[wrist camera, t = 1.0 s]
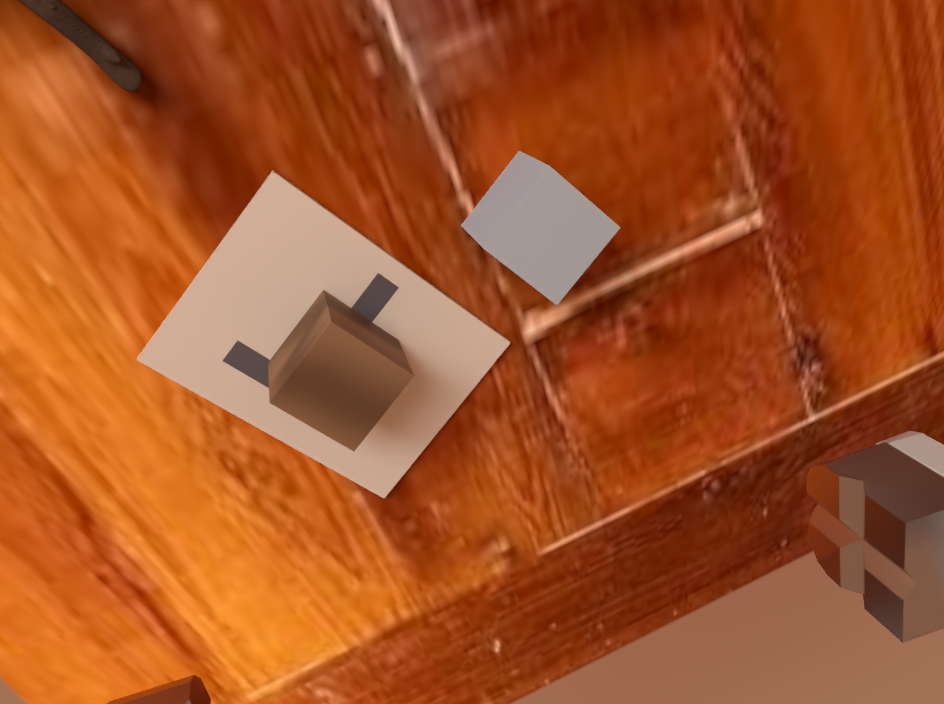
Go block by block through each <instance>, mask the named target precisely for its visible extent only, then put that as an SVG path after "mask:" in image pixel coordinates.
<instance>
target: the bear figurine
mask: <svg viewBox="0 0 944 704" xmlns="http://www.w3.org/2000/svg"><path fill="white" fill-rule="evenodd" d="M19 1H20V2H21V3H23V4H24V5H25V6H27V7H28V8H29V9H31V10H32V11H33V12H34V13H36V14H37V15H38V16H40V17H41V18H42V19H44V20H45V21H46V22H47V23H49V24H50V25H51V26H53V27H54V28H55V29H57V30H58V31H59V32H60V33H62V34H63V35H64V36H66V37H67V38H68V39H69V40H71V41H72V42H73V43H74V44H76V45H77V46H78V47H79V48H80V49H81V50H83V51H84V52H85V53H86V54H87V55H88V56H89V57H90V58H91V59H93V60H94V61H95V62H96V63H97V64H98V65H99V67H100V68H101V69H102V70H103V71H104V72H105V73H106V74H107V75H108V76H109V77H110V78H111V79H112V80H113V81H114V82H115V83H116V84H117V85H118V86H120V87H121V88H123V89H125V90H126V91H129V92H136V91H138V90H139V89H140V87H141V85H142V81H143V77H142V73H141V72H140V70H139V69H138V68H137V67H136V66H135V65H134V64H133V63H131V62H130V61H129V60H128V59H127V58H126V57H125V56H123V55H122V54H121V53H120V52H119V51H118V50H117V49H116V48H114V47H113V46H112V45H111V44H110V43H109V42H108V41H106V40H105V39H104V38H103V37H102V36H100V35H99V34H98V33H97V32H95V31H94V30H93V29H92V28H91V27H89V26H88V25H87V24H86V23H85V22H84V21H83V20H81V19H80V18H79V17H78V16H77V15H76V14H75V13H73V12H72V11H71V10H70V9H69V8H68V7H66V6H65V5H64V4H63V3H62V2H61V1H59V0H19Z"/></svg>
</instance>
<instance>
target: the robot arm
mask: <svg viewBox="0 0 944 704" xmlns="http://www.w3.org/2000/svg"><path fill="white" fill-rule="evenodd" d="M807 494H808V495H809V496H810V497H811V498H812V499H814V500H815V501H816V502H817V503H818V504H817V506H816V508H815V510H814V512H813V514H812V515H811V517H810V519H809V521H808V524H809V537H810V544H811V546H812V548H813V551H814V553H815V556H816V558H817V561H818V562H819V564H820V565H821V567H822V568H823V569H824V571H825V572H826V574H827V575H828V576H829V577H830V578H831V579H833V580H834V581H835V582H836V583H837V584H838V585H839V586H840V587H841V588H845V589H848V590H851V591H854V592H858V593H861V594H863V598H864V607H865V610H867V611H868V612H869V613H870V614H871V615H872V616H873V617H874V618H876V619H877V620H878V621H879V622H880V623H881V624H882V625H884V626H885V627H886V628H887V629H888V630H889V631H890V632H892V633H893V634H894V635H895V636H896V637H897V638H898V639H899V640H900V641H901V642H906V641H909V640H912V639H915V638H917V637H920V636H923V635H926V634H929V633H932V632H934V631H937V630H940V629H943V628H944V445H942V444H941V443H939V442H937V441H935V440H934V439H932V438H930V437H928V436H926V435H925V434H923V433H919V432H912V431H908V432H905V433H903V434H900V435H897V436H895V437H892V438H889V439H886V440H884V441H881V442H878V443H877V444H876V445H873V446H870V447H867V448H864V449H861V450H858V451H855V452H853V453H850V454H847V455H844V456H841V457H838V458H835V459H832V460H829V461H826V462H824V463H821V464H818V465H815V466H812V467H811V469H810V471H809V474H808V477H807ZM210 701H211V699H210V697H209V695H208V693H207V690H206V688H205V686H204V684H203V682H202V680H201V678H199V677H197V676H196V675H192V676H189V677H186V678H183V679H180V680H176V681H173V682H170V683H167V684H164V685H161V686H157V687H154V688H151V689H148V690H145V691H141V692H138V693H135V694H132V695H129V696H126V697H122V698H119V699H116V700H113V701H110V702H109V703H107V704H210Z"/></svg>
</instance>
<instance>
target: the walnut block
mask: <svg viewBox="0 0 944 704" xmlns="http://www.w3.org/2000/svg"><path fill="white" fill-rule="evenodd" d="M268 376H269V402H270V404H272V405H274V406H276V407H277V408H279V409H281V410H283V411H284V412H286V413H288V414H290V415H291V416H293V417H295V418H296V419H298V420H300V421H302V422H303V423H305V424H307V425H309V426H310V427H312V428H314V429H315V430H317V431H319V432H321V433H322V434H324V435H326V436H328V437H329V438H331V439H333V440H334V441H336V442H338V443H340V444H341V445H343V446H345V447H347V448H348V449H350V450H352V451H353V452H354V451H355V450H356V449H357V447H358V446H359V445H360V444H361V442H362V441H363V440H364V439H365V437H366V436H367V435H368V434H369V432H370V431H371V430H372V429H373V427H374V426H375V425H376V424H377V422H378V421H379V420H380V419H381V417H382V416H383V415H384V413H385V412H386V411H387V410H388V408H389V407H390V406H391V405H392V403H393V402H394V401H395V400H396V398H397V397H398V396H399V395H400V393H401V392H402V391H403V390H404V388H405V387H406V386H407V385H408V383H409V382H410V381H411V380H412V378H413V377H414V374H413V371H412V369H411V367H410V365H409V363H408V360H407V358H406V356H405V354H404V351H403V349H402V347H401V345H400V342H399V340H398V339H396V338H395V337H393V336H392V335H390V334H389V333H387V332H386V331H384V330H383V329H381V328H380V327H379V326H377V325H376V324H374V323H373V322H371V321H370V320H368V319H367V318H365V317H364V316H362V315H361V314H359V313H358V312H356V311H355V310H353V309H352V308H350V307H349V306H347V305H346V304H344V303H343V302H341V301H340V300H338V299H337V298H335V297H334V296H332V295H331V294H329V293H328V292H326V291H325V290H323V291H322V292H321V293H320V295H319V296H318V297H317V299H316V300H315V301H314V303H313V304H312V305H311V307H310V308H309V309H308V311H307V312H306V313H305V315H304V316H303V317H302V319H301V320H300V321H299V323H298V324H297V325H296V327H295V328H294V329H293V330H292V332H291V333H290V334H289V336H288V337H287V338H286V340H285V341H284V342H283V344H282V345H281V346H280V348H279V349H278V350H277V352H276V353H275V354H274V356H273V357H272V358H271V360H270V361H269V362H268Z"/></svg>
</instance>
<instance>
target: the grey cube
mask: <svg viewBox="0 0 944 704" xmlns="http://www.w3.org/2000/svg"><path fill="white" fill-rule="evenodd" d="M461 226H462V227H463V228H464V229H465V230H466V231H467V232H468V233H469V234H470V235H471V236H472V237H473V238H474V239H475V240H476V241H477V242H478V243H479V244H480V245H481V246H482V247H483V248H484V249H485V250H486V251H487V252H488V253H490V254H491V255H492V256H494V257H495V258H496V259H497V260H499V261H500V262H501V263H503V264H504V265H505V266H507V267H508V268H509V269H510V270H512V271H513V272H514V273H516V274H517V275H518V276H519V277H521V278H522V279H523V280H525V281H526V282H527V283H528V284H530V285H531V286H532V287H534V288H535V289H536V290H538V291H539V292H540V293H541V294H543V295H544V296H545V297H547V298H548V299H549V300H550V301H552V302H553V303H554V304H556V305H558V303H559V302H560V301H561V300H562V299H563V297H564V296H565V295H566V294H567V292H568V291H569V290H570V289H571V288H572V286H573V285H574V284H575V283H576V281H577V280H578V279H579V278H580V277H581V275H582V274H583V273H584V272H585V270H586V269H587V268H588V267H589V266H590V264H591V263H592V262H593V261H594V259H595V258H596V257H597V256H598V255H599V253H600V252H601V251H602V250H603V248H604V247H605V246H606V245H607V244H608V242H609V241H610V240H611V239H612V237H613V236H614V235H615V234H616V233H617V231H618V230H619V229H620V227H619V226H618V225H617V224H616V223H615V222H614V221H612V220H611V219H610V218H609V217H608V216H607V215H606V214H604V213H603V212H602V211H601V210H600V209H599V208H598V207H596V206H595V205H594V204H593V203H592V202H591V201H589V200H588V199H587V198H586V197H585V196H584V195H583V194H581V193H580V192H579V191H578V190H577V189H576V188H575V187H573V186H572V185H571V184H570V183H569V182H568V181H567V180H565V179H564V178H563V177H562V176H561V175H560V174H559V173H557V172H556V171H555V170H554V169H553V168H552V167H551V166H549V165H547V164H545V163H543V162H541V161H539V160H537V159H535V158H533V157H531V156H529V155H527V154H525V153H523V152H521V151H519V152H518V153H517V154H516V155H515V157H514V158H513V159H512V161H511V162H510V163H509V164H508V166H507V167H506V168H505V170H504V171H503V172H502V173H501V175H500V176H499V177H498V179H497V180H496V181H495V182H494V184H493V185H492V186H491V187H490V189H489V190H488V191H487V193H486V194H485V195H484V196H483V198H482V199H481V200H480V202H479V203H478V204H477V205H476V207H475V208H474V209H473V211H472V212H471V213H470V214H469V216H468V217H467V218H466V220H465V221H464V222H463V223H462V225H461Z"/></svg>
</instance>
